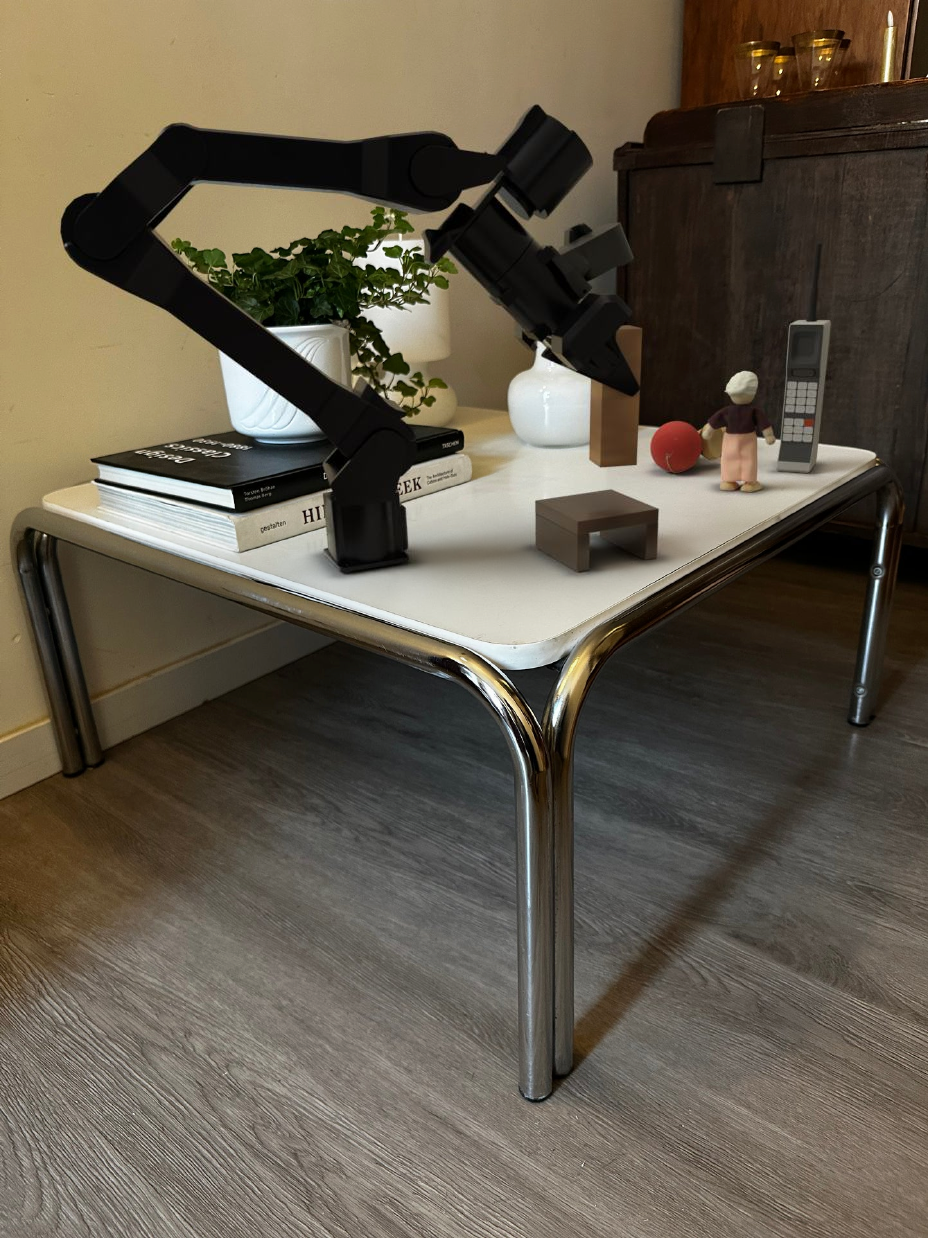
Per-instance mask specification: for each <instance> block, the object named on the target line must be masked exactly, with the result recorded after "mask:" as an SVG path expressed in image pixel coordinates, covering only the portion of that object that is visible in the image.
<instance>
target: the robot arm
mask: <svg viewBox="0 0 928 1238" xmlns="http://www.w3.org/2000/svg"><path fill="white" fill-rule="evenodd" d="M593 166H594V159H593V156H592V154H591V151H590V150H589V148H588V146H587V145H586V143H585V142H584V141H583V139H582V137H580V136H579V134H578V133H577V132H576V131H575V129H569V128H568V127H567V126H566V125H565V124H564V123H562V122H561V121H560V120H558V119H557V118H556V117H554V116H552V115H549V114H547V112H546V111H545V110H544V109H543V108H542V106H541V105H539V104H537V103H536V104H533V105H531V106H530V107H528V108H527V109H526V110H525V111H524V112H523V114H522V115H520V118H519V119H518V121H517V123H516V124H515V126H514V127H513V129H512V131H511V132H510V133H509V134H508V135H507V137H506V138H505V139H504V140H503V141H502V143H500V145H499V146H498V147H497V149H496V150H495V151H494V152H493V153H488V152H487V150H485V151H483V152H479V151H473V150H467V149H460V147H458V145H457V144H456V142H455V141H454V140H453V138H452V137H450V136H448V135H447V134H446V133H443V132H438V131H435V130H421V131H412V132H402V133H394V134H393V133H392V134H385V135H379V136H372V137H367V138H362V139H361V138H360V139H351V140H340V139H328V138H318V137H307V136H296V135H285V134H272V133H263V132H261V133H260V132H251V131H240V130H229V129H219V128H218V129H216V128H205V127H198V126H194V125H192V124H190V123H187V122H173V123H170V124H169V125H167V126H165V127H163V128H162V129H161V130H160V132H159V134H158V135H157V137H156V139H155V140H154V141H153V142H152V143H151V144H150V145H149V146H148V147H147V149H145V150H144V151H143V152H142V153H140V155H139V156H137V157H136V158H135V159H134V160H133V161H131V162H130V164H128V165H127V166H126V167H125V168H124V169H123V170H122V171H120V172H119V173H118V174H117V175H116V176H115V177H113V179H112V180H111V181H110V182H109V183H108V184H107V185H106V186H105V187H104V188H103V190H102V191H101V192H100V191H98V192H85V193H84V194H81V195H80V196H77V197H75V198H73V199H72V200H71V202H70V203H69V204H68V205H67V206H66V207H65V208H64V211H63V213H62V216H61V218H60V228H59V229H60V231H59V233H60V237H61V241H62V245H63V248H64V250H65V252H66V254H67V255H68V256H69V257H68V258H70V259H71V260H72V261H73V262H74V263H75V265H77V266H78V267H79V268H81V269H82V270H84V271H85V272H88V273H89V274H91V275H93V276H95V277H97V278H99V279H101V280H103V281H105V282H107V283H109V284H110V285H112V286H114V287H115V288H116V287H117V289H120V290H122V291H123V292H126V293H128V294H131V295H133V296H135V297H137V298H139V299H141V300H143V301H146V302H148V303H150V304H152V305H154V306H156V307H158V308H160V309H162V310H164V311H166V312H167V313H169V314H170V315H172V316H173V317H174V318H176V319H177V320H178V321H180V322H181V323H183V324H184V325H185V326H186V327H187V328H189V329H190V330H192V331H193V332H194V333H195V334H197V335H199V336H200V337H201V338H202V339H204V340H205V341H207V342H208V343H209V344H210V345H211V346H213V347H214V348H215V349H217V350H218V351H219V352H221V353H222V354H224V355H225V356H227V357H228V358H229V359H230V360H232V361H233V362H235V363H236V364H237V365H238V366H240V367H241V368H243V369H244V370H246V371H247V372H248V373H249V374H251V375H252V376H253V377H255V378H256V379H258V380H259V381H260V382H261V383H263V384H265V386H267V388H269V389H271V390H272V391H274V392H275V393H276V394H277V395H279V396H280V397H282V398H283V399H284V400H286V401H287V402H288V403H290V404H291V405H292V406H294V407H295V408H297V410H299V411H301V412H302V413H303V414H304V415H306V416H307V417H308V418H309V419H310V420H311V421H312V422H313V423H314V424H315V425H316V427H317V428H318V429H319V430H320V431H321V432H322V434H324V435H325V436H326V438H327V439H328V440H329V441H330V442H331V443H332V444H333V445H334V447H335V448H334V450H333V451H332V452H331V453H330V454H329V455H328V457H326V459H325V460H324V461H323V463H322V468H323V471H324V474H325V476H326V479H327V481H328V484H329V487H330V489H331V491H327V492H322V501H323V511H324V521H325V531H326V540H327V541H326V542H327V547H325V548H323V555H324V556H325V557H326V558H327V559H328V560H329V562H331V563H332V565H333V566H334V567H335V568H336V570H338V572H340V573H350V572H355V571H362V570H367V569H374V568H380V567H386V566H392V565H398V564H404V563H409V562H411V557H410V555H409V554H408V553H407V552H406V551H407V550H408V549H409V535H408V534H409V533H408V519H407V507H406V506H405V505H403V504H402V503H401V498H400V491H399V490H398V486H399V482H400V480H401V477H403V476H404V475H406V474H407V473H408V472H409V470H410V469H412V466H413V464H414V463H415V461H416V459H417V453H418V443H417V435H416V433H414V430H413V429H412V428H411V427H410V426H409V425H408V424H407V422H406V421H405V420H404V419H403V418H406V417H407V416H408V413H407V412H406V411H405V410H404V409H403V408H402V407H401V406H400V405H399V404H398V403H397V402H396V401H395V400H393V399H392V400H391V399H388V398H385V397H384V396H382V395H381V394H379V393H378V392H377V391H376V390H375V388H374V387H373V386H372V385H371V384H370V383H369V382H368V381H367V380H366V379H365V378H364V377H363V376H362V375H360V376H358V378H357V380H356V382H355V384H354V386H353V387H351V386H349V385H346V384H344V383H342V382H340V381H338V380H336V379H334V378H332V377H330V376H329V375H327V374H326V373H325V372H324V371H323V370H321V369H320V368H318V367H317V366H316V365H314V364H313V363H312V362H311V361H309V360H308V359H307V358H306V357H304V356H303V355H302V354H300V353H299V352H298V351H296V349H294V348H293V347H292V346H290V345H289V344H288V343H286V342H285V341H284V340H282V339H281V338H279V336H277V335H276V334H275V333H273V332H272V331H271V330H270V329H268V328H267V327H265V325H263V324H262V323H260V322H259V321H258V320H257V319H255V318H254V317H253V316H251V315H250V314H249V313H247V312H246V311H245V310H244V309H243V308H241V307H240V306H239V305H237V304H236V303H235V302H233V301H232V300H230V299H229V298H228V297H227V296H225V295H224V294H223V293H221V291H219V290H218V289H216V288H215V287H214V286H212V284H210V283H208V282H207V281H206V280H205V279H203V278H202V277H201V276H200V275H198V274H197V273H196V272H195V271H193V269H191V266H189V265H188V264H187V263H186V262H185V261H184V260H183V259H182V257H181V256H180V255H179V254H178V253H177V251H176V250H175V249H174V248H173V247H172V246H171V245H170V244H169V242H168V241H167V240H165V238H164V237H163V236H162V235H161V234H160V233H159V232H158V231H157V230H156V229H157V228H158V227H159V226H160V225H161V224H162V222H163V221H165V219H166V218H167V217H168V216H169V215H170V214H171V213H172V211H173V210H174V209H176V207H177V206H178V204H180V202H182V200H183V199H184V198H185V197H186V196H187V195H188V193H189V192H190V191H191V190H192V189H193V188H194V187H196V185H200V184H201V185H202V184H207V185H221V186H232V187H233V186H234V187H245V188H246V187H247V188H259V189H261V188H262V189H271V190H272V189H273V190H285V191H286V190H287V191H299V192H311V193H325V194H336V195H337V194H339V195H344V196H347V197H352V198H355V199H358V200H361V201H365V202H367V203H371V204H373V205H377V206H381V207H384V208H388V209H392V210H396V211H399V212H403V213H407V214H410V215H416V216H420V215H428V214H429V215H430V214H433V213H438V212H442V211H444V210H447V209H449V208H450V207H451V206H452V205H453V204H454V203H455V202H456V201H458V200H459V198H460V197H461V195H462V192H463V191H467V190H470V189H474V188H477V187H481V186H485V185H489V186H488V187H487V189H485V191H484V192H483V193H482V194H481V195H480V196H479V198H478V199H477V200H476V201H475V202H474V203H473V204H472V205H471V206H470V205H468V204H466V203H464V202H458V204H457V205H456V206H455V207H454V208H453V210H452V211H451V212H450V213H449V214H448V215H447V217H446V218H445V219H444V220H443V221H442V223H441V224H440V225H439V226H438V227H437V229H434V228H426V229H423V230H422V231H421V237H422V240H423V247H424V249H423V252H424V254H423V262H424V263H425V264H426V266H427V265H428V266H429V265H436V264H438V263H439V262H441V260H442V258H443V257H444V256H445V255H446V254H447V253H448V254H450V256H452V257H453V259H455V260H456V261H457V262H458V264H459V265H460V266H462V268H463V269H464V270H465V271H466V272H467V273H468V274H469V275H470V276H471V277H472V278H473V279H474V280H475V281H476V282H477V283H478V284H479V285H480V286H481V287H482V288H483V289H484V290H485V291H486V293H488V294H489V295H488V298H489V299H490V300H491V301H492V302H493V303H494V304H495V305H496V306H499V307H502V309H504V310H505V311H506V313H507V314H508V315H510V316H511V318H513V320H514V322H513V323H514V326H513V327H514V330H513V332H514V338H515V339H516V340H517V341H518V342H519V343H520V344H522V345H523V347H524V348H525V349H526V350H528V351H530V352H533V353H535V352H536V350H538V348H539V346H537V344H536V343H535V342H539V343H541V344H542V345H543V346H544V347H545V348H544V350H543V351H542V352H541V353H540V357H541V358H543V359H545V360H547V361H550V362H552V363H554V364H556V365H558V366H561V367H563V368H565V369H567V370H570V371H572V372H574V373H576V374H579V375H580V376H583V377H586V378H588V379H590V380H591V379H592V380H595V381H597V382H599V383H601V384H604V385H606V386H608V387H610V388H613V389H615V390H617V391H619V392H622V393H624V394H626V395H628V396H631V397H633V396H635V394H636V393H637V392H638V391H639V390H640V391H641V385H640V386H639V384H638V382H637V380H636V378H635V376H634V374H633V372H632V370H631V369H630V367H629V365H628V363H627V361H626V359H625V357H624V355H623V353H622V352H621V350H620V348H619V345H618V343H617V341H616V332H617V330H618V329H619V328H620V327H621V326H624V324H625V323H626V322H627V321H628V320H629V319H630V317H631V315H632V313H633V310H632V309H631V307H629V306H628V305H627V303H626V302H624V300H623V299H622V298H621V297H620V296H619V295H618V294H617V293H612V292H611V293H610V292H590V291H592V289H593V286H592V285H591V284H590V283H589V282H591V281H592V280H594V279H596V278H598V277H600V276H602V275H604V274H605V273H607V272H609V271H611V270H613V269H615V268H616V267H619V266H620V267H623V266H625V265H627V264H629V263H631V262H632V261H633V260H634V258H635V257H634V255H633V252H632V249H631V247H630V245H629V242H628V239H627V237H626V234H625V232H624V229H623V226H622V224H621V222H608V223H605V224H603V225H598V226H596V227H595V229H592V228H591V227H590V226H589V225H588V224H586V223H585V222H578V223H576V224H574V225H572V226H570V227H568V228H566V229H565V230H564V231H563V232H564V233H563V245H562V246H560V247H559V249H556V248H555V247H554V246H553V245H549V244H547V245H546V244H545V245H541V244H540V243H539V242H538V241H537V240H536V239H535V237H533V236H532V234H531V233H530V232H529V231H528V230H527V229H526V227H524V226H523V224H522V223H520V222H519V221H518V219H517V218H516V217H515V216H514V215H513V214H512V213H511V212H510V210H511V211H512V212H513V213H515V214H516V216H518V217H520V218H521V219H522V220H524V221H526V222H528V221H530V220H531V219H532V218H533V217H534V216H535V217H537V218H539V219H541V220H547V219H548V218H549V217H550V216H551V215H552V213H553V212H554V211H555V210H556V209H557V208H558V207H559V205H560V203H562V202H563V201H564V199H565V198H566V197H567V196H569V194H570V192H571V191H572V190H573V189H574V188H575V187H576V185H578V183H579V182H580V181H581V180H582V179H583V177H584V176H585V175H586V174H587V173H588V172H589V170H590V169H592V167H593ZM496 195H498V196H499V197H500V198H501V200H502V201H503V202H504V204H506V206H507V207H508V208H509V210H508V208H507V207H506V206H505V205H503V203H502V202H501V201H500V200H499V199H498V198H497V197H496Z"/></svg>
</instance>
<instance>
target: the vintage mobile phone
mask: <svg viewBox="0 0 928 1238" xmlns="http://www.w3.org/2000/svg"><path fill="white" fill-rule="evenodd" d="M822 247H823V244H822V243H821V242H817V243H816V244H815V251H814V260H813V261H814V262H813V273H812V282H811V287H810V291H809V292H810V293H809V301H808V302H809V303H808V310H807V311H808V313H807V317H806V319H798V320H795V321H793V322H791V323H790V324H789V327H788V337H787V339H788V340H787V352H786V363H785V364H786V365H785V385H784V386H785V387H784V397H783V407H782V419H781V420H782V421H781V432H780V433H781V434H780V440H779V441H780V442H779V449H778V454H777V462H776V470H777V471H778V472H785V473H786V472H788V473H798V474H799V473H802V474H809V473H810V471H811V470H812V469H813V467H814V466H815V465H816V463H817V460H818V459H817V458H818V449H819V440H820V430H821V422H822V421H821V420H822V412H823V404H824V395H825V394H824V393H825V384H826V374H827V363H828V355H829V354H828V353H829V347H830V335H831V326H832V323H831V320H830V319H818V317H817V310H818V309H817V308H818V299H819V277H820V267H821V257H822Z"/></svg>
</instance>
